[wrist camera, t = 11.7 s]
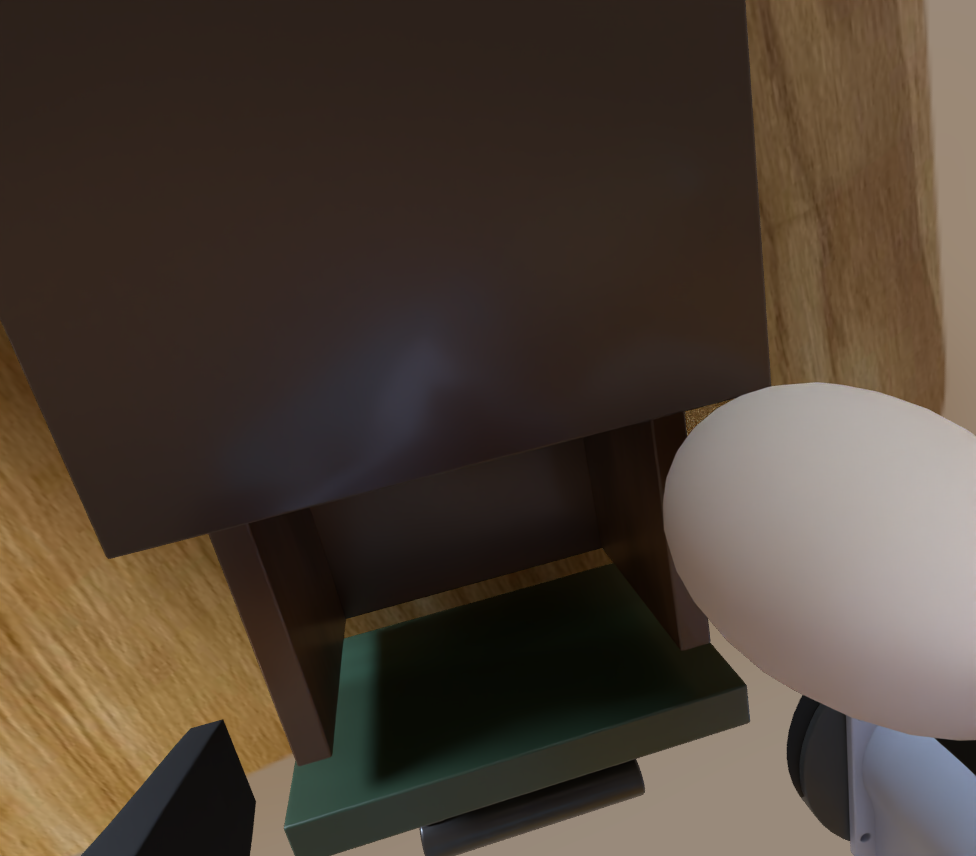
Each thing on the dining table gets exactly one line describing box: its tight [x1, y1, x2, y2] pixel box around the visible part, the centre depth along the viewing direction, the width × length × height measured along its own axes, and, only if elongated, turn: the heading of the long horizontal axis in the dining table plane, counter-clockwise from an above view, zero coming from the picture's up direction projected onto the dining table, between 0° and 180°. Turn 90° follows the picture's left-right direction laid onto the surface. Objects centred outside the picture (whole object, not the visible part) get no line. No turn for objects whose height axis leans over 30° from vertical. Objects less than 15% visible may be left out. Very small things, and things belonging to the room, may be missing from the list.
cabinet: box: [0, 0, 771, 559], centre depth 13 cm, size 15×13×9 cm
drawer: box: [209, 412, 750, 856], centre depth 17 cm, size 18×11×7 cm, turn 12°
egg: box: [663, 382, 976, 741], centre depth 10 cm, size 5×5×7 cm
